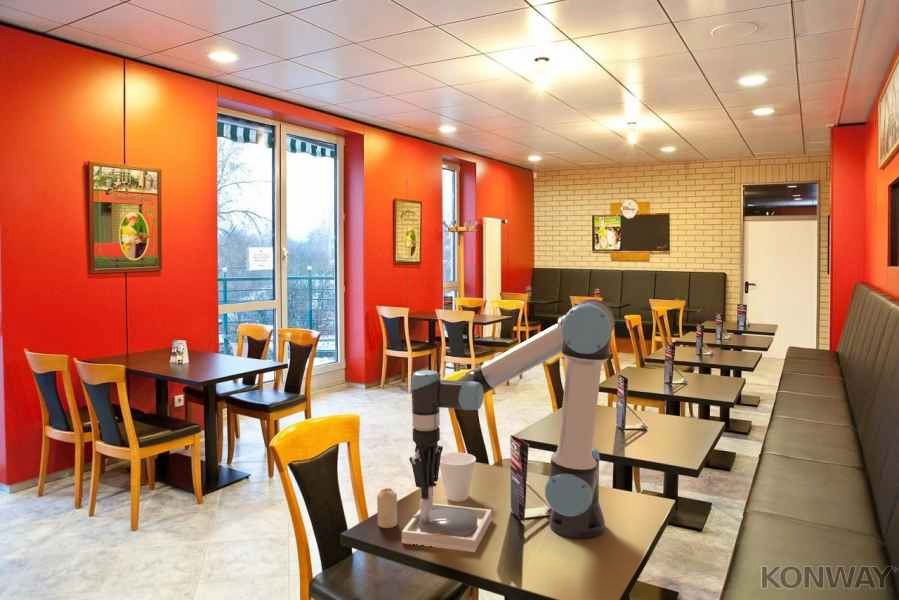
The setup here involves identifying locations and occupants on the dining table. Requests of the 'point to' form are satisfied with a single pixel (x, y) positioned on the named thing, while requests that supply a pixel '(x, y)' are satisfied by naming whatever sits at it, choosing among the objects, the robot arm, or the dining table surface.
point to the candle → (387, 508)
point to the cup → (457, 474)
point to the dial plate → (470, 543)
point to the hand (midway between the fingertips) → (427, 508)
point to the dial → (446, 521)
